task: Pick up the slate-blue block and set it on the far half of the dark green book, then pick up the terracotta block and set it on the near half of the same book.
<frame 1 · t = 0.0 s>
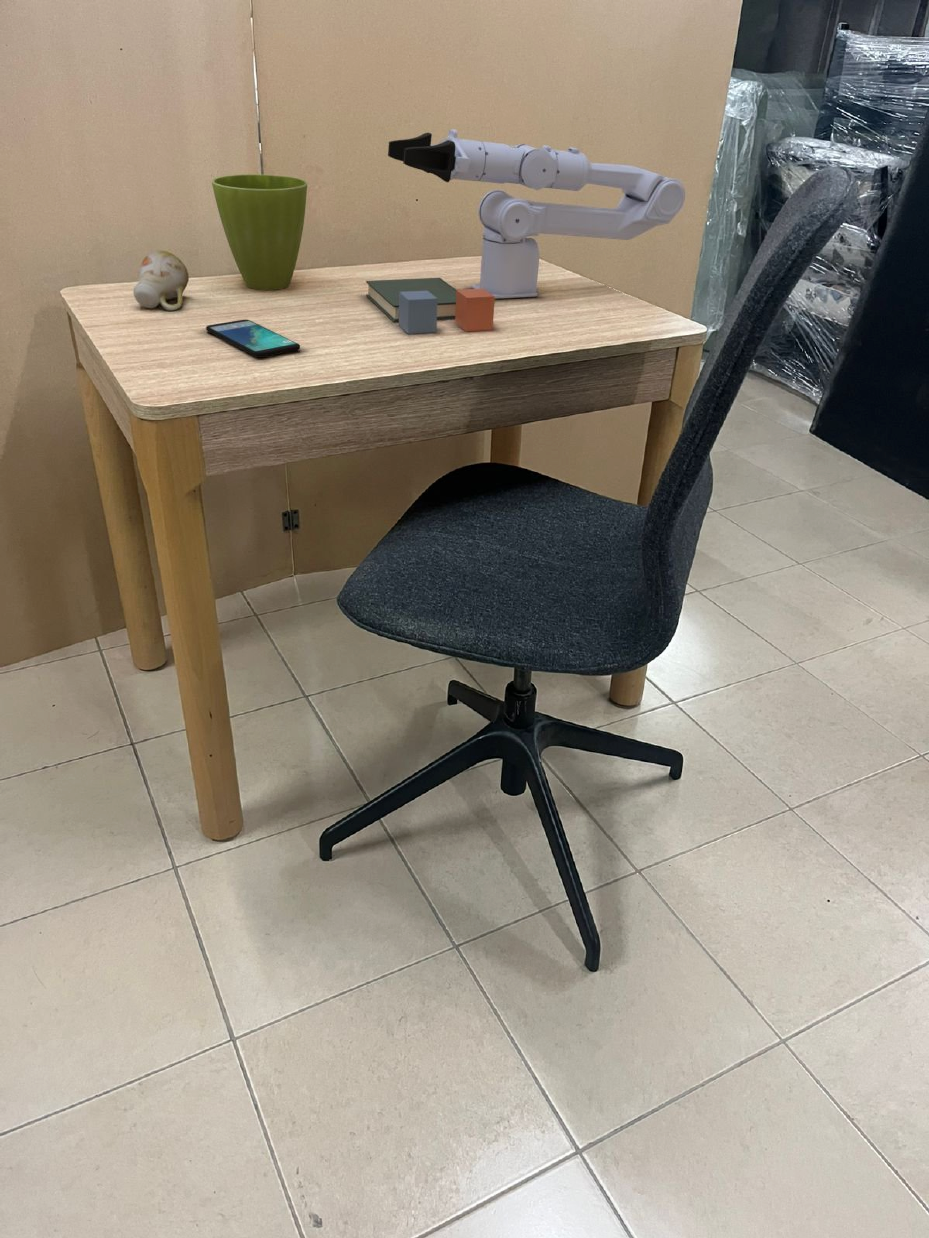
hand: (396, 152, 138), 22 cm above the table, tool horizontal, fingers open, 7 cm apart
terracotta block: (473, 326, 139), on the table
book: (417, 306, 147), on the table
slate block: (417, 329, 137), on the table
flower pot: (267, 286, 153), on the table
mug: (162, 304, 141), on the table
smartphone: (252, 341, 128), on the table
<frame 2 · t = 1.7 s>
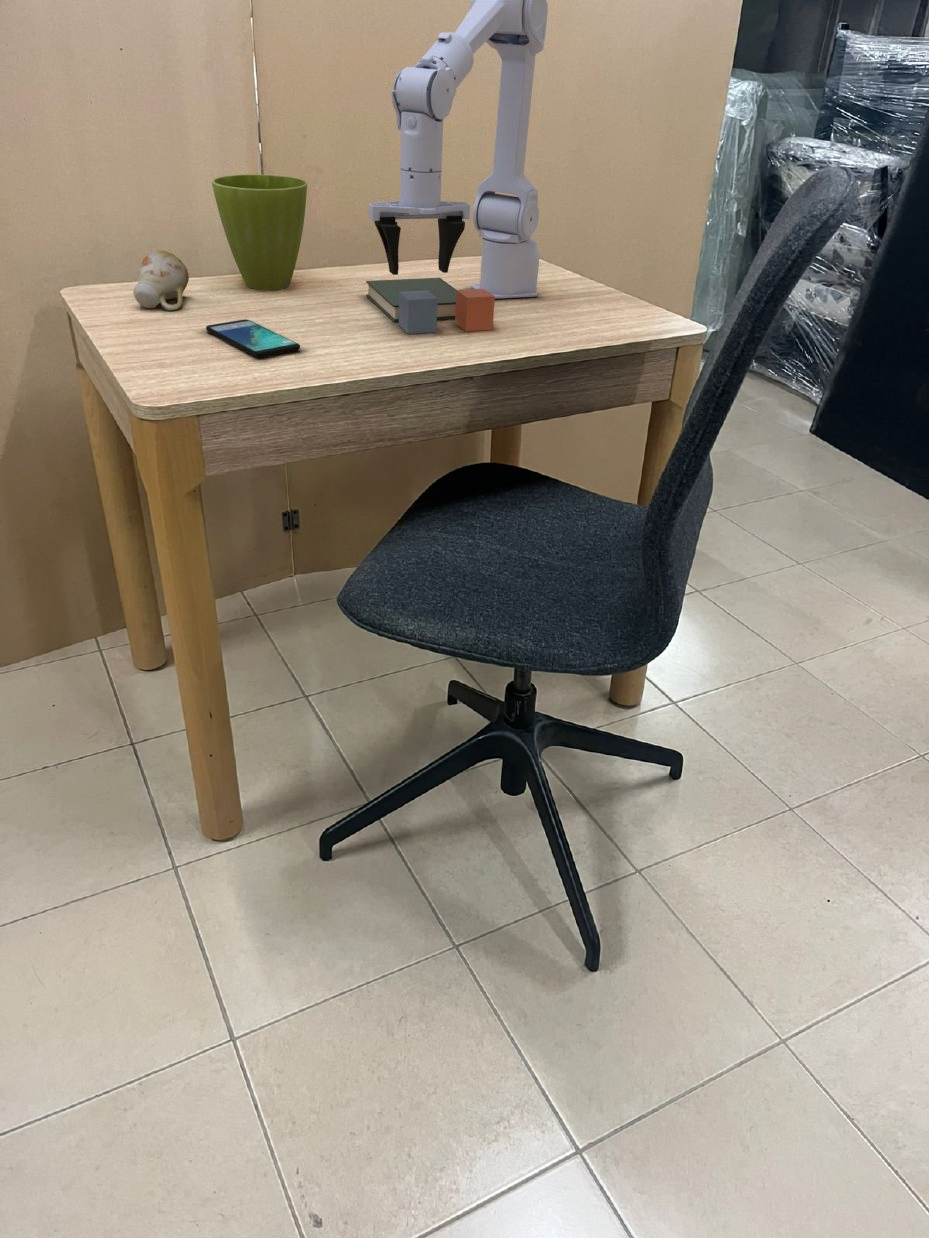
hand: (418, 272, 132), 8 cm above the table, tool pointing down, fingers open, 7 cm apart
nothing on the table moved.
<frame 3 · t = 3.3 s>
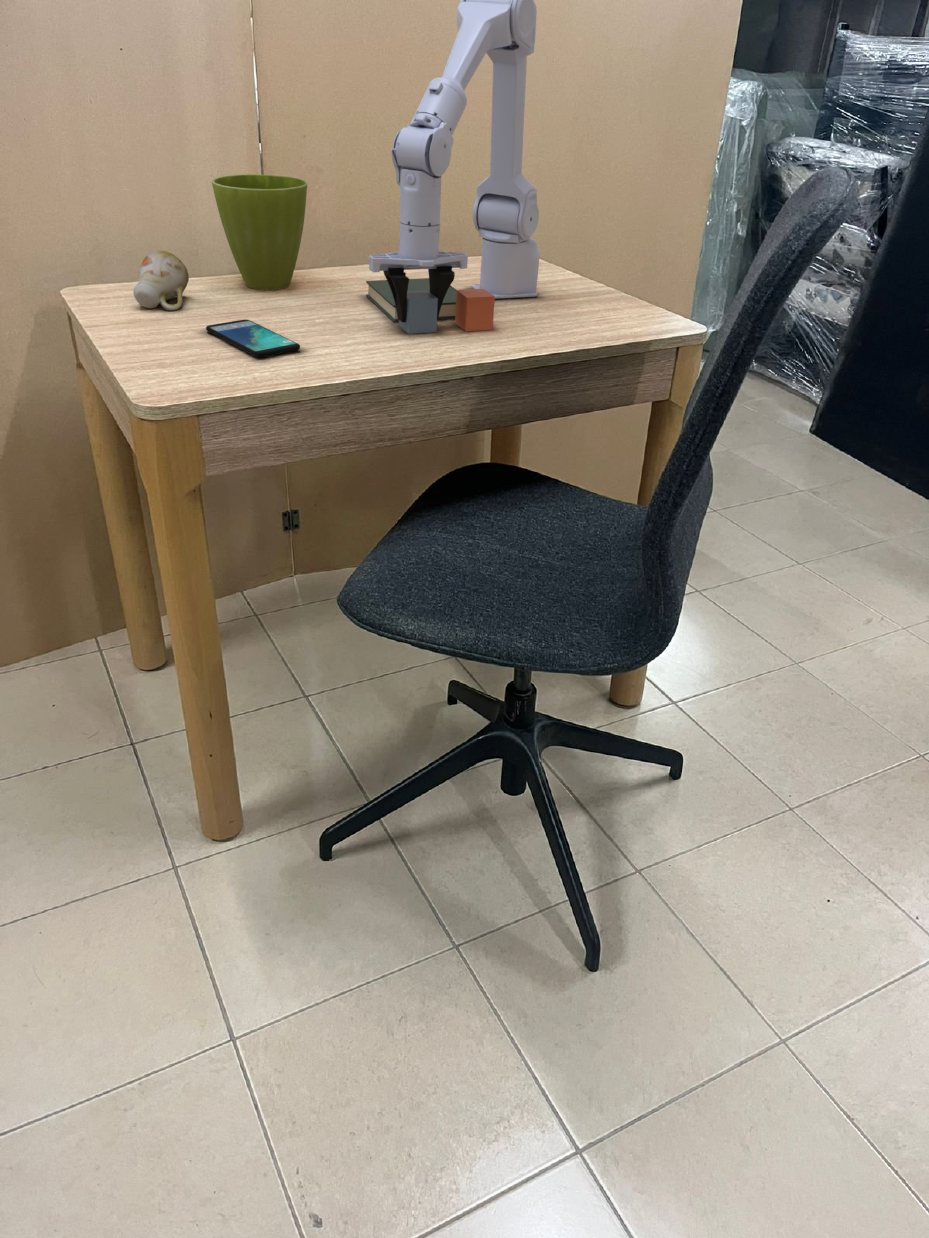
hand: (417, 319, 136), 1 cm above the table, tool pointing down, fingers closed on slate block, 4 cm apart
slate block: (417, 329, 137), on the table, touching gripper
everything else where it was.
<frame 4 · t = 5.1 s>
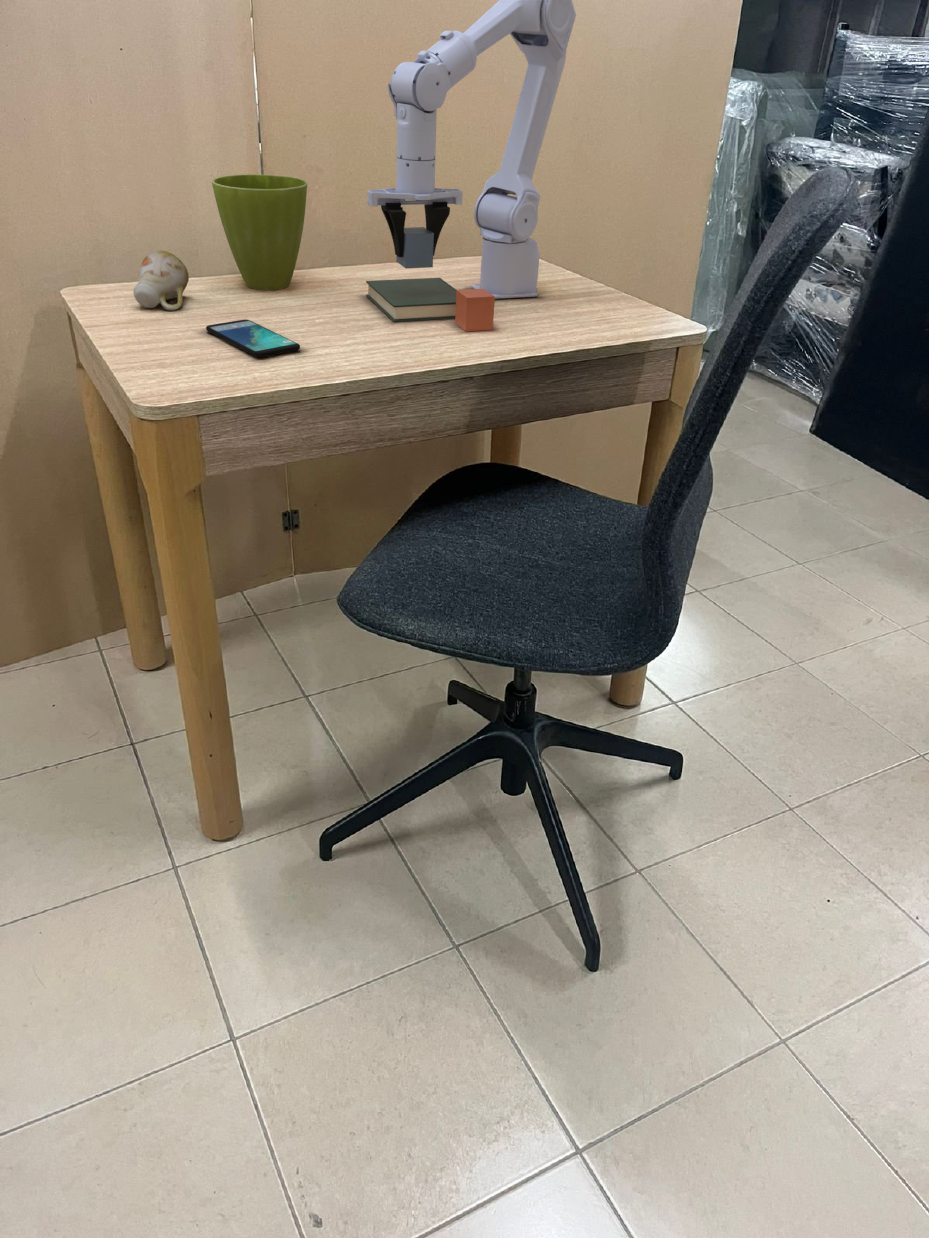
hand: (414, 255, 141), 8 cm above the table, tool pointing down, fingers closed on slate block, 4 cm apart
slate block: (414, 264, 141), point 7 cm above the table, touching gripper
everything else where it was.
when the fingers open (4 cm above the table, at t = 7.4 s): slate block stays where it is, resting on book.
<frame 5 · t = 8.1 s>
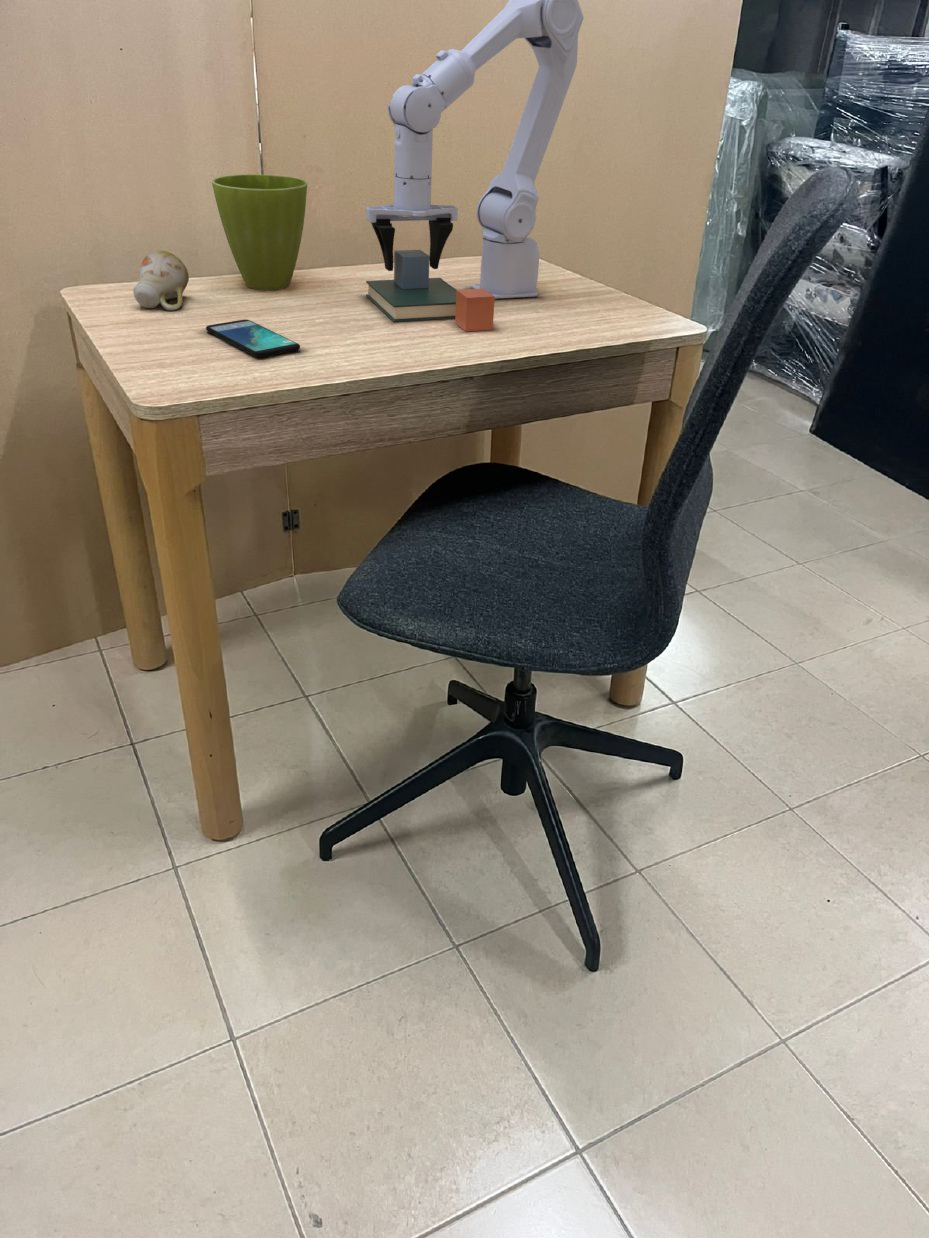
hand: (411, 268, 147), 5 cm above the table, tool pointing down, fingers open, 7 cm apart
slate block: (411, 285, 148), point 2 cm above the table, touching book
everything else where it was.
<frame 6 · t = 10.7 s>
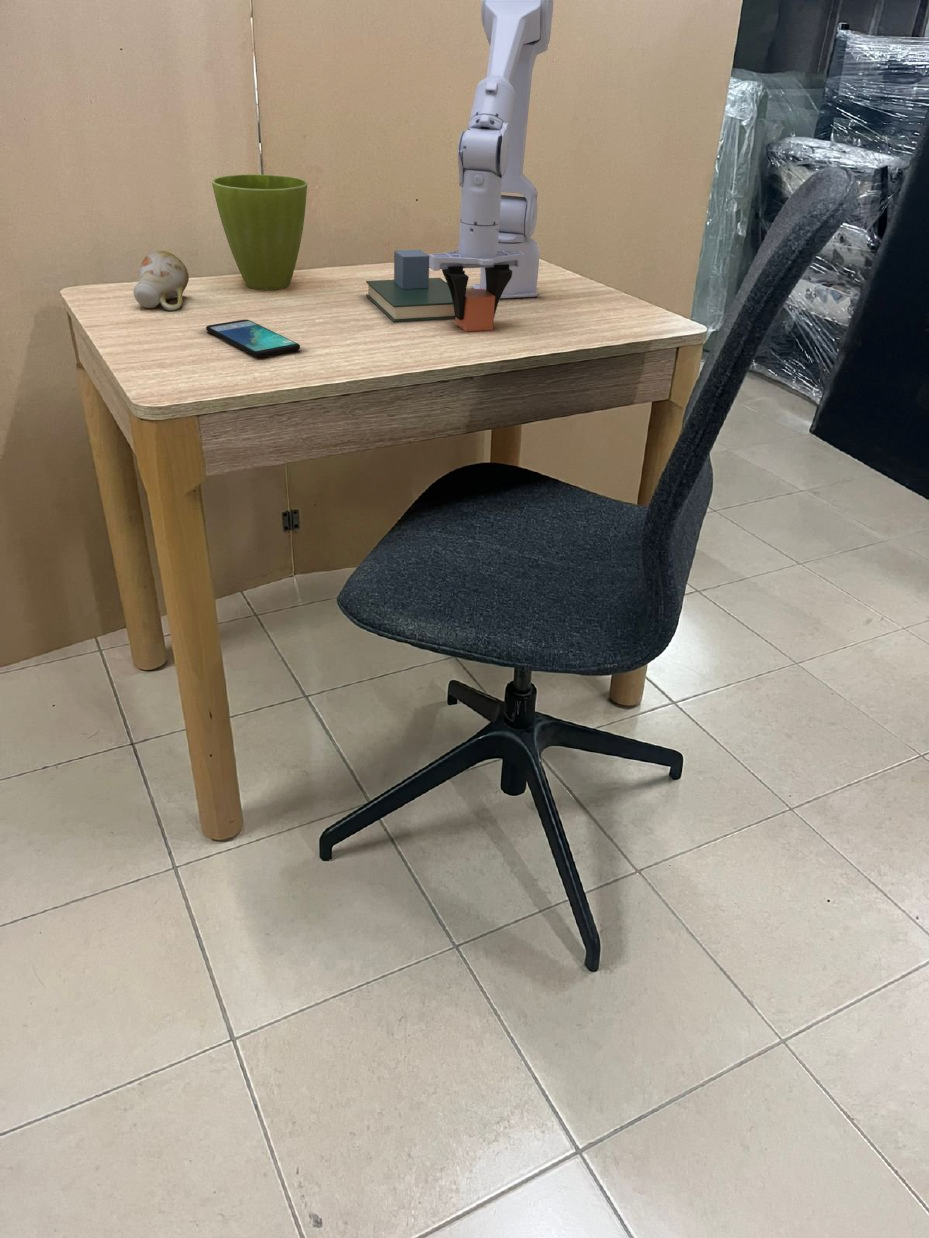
hand: (474, 317, 139), 1 cm above the table, tool pointing down, fingers closed on terracotta block, 4 cm apart
terracotta block: (473, 326, 139), on the table, touching gripper
everything else where it was.
when the fingers open (4 cm above the table, at t = 14.5 s): terracotta block stays where it is, resting on book.
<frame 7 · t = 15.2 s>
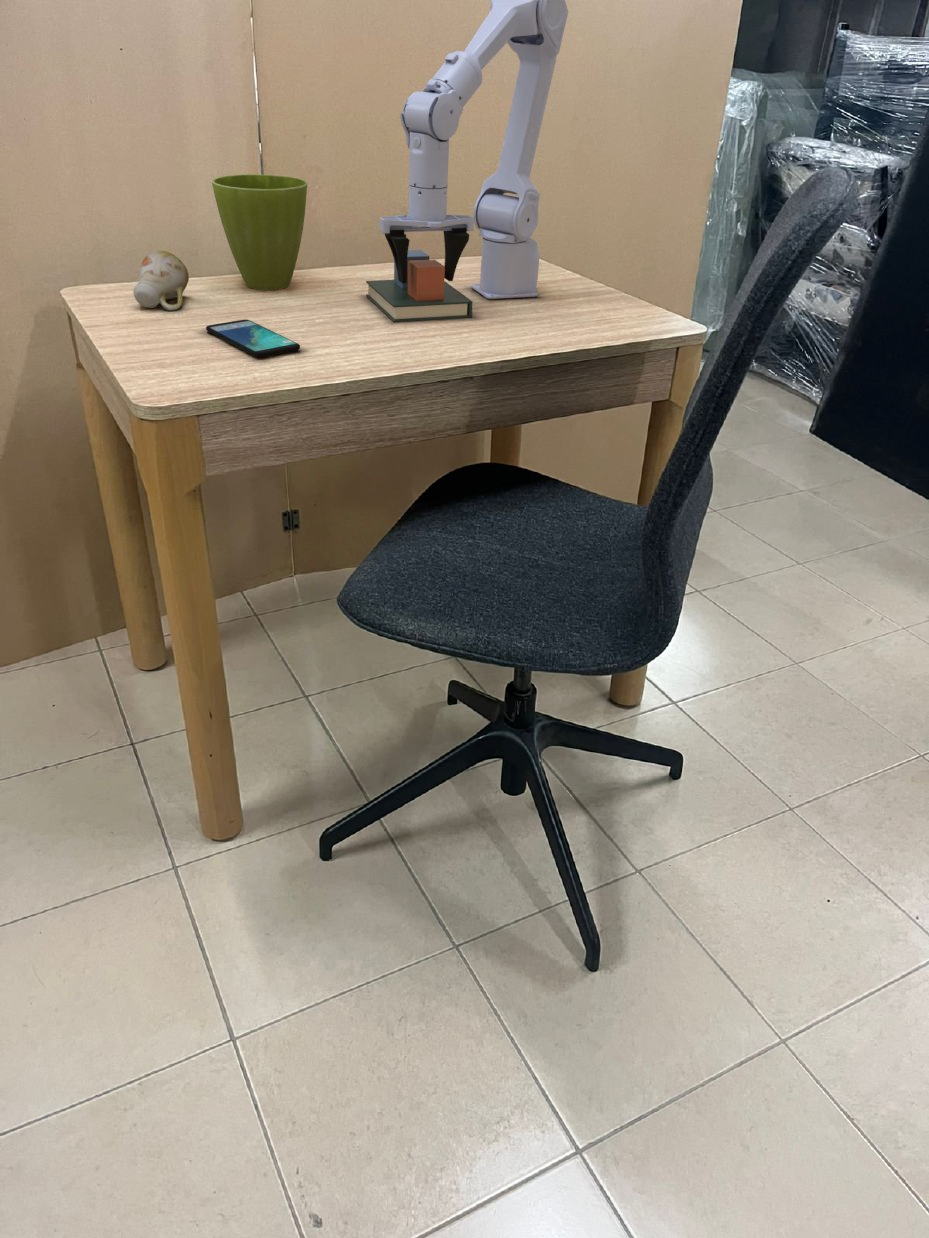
hand: (425, 280, 141), 5 cm above the table, tool pointing down, fingers open, 7 cm apart
terracotta block: (425, 296, 143), point 2 cm above the table, touching book
everything else where it was.
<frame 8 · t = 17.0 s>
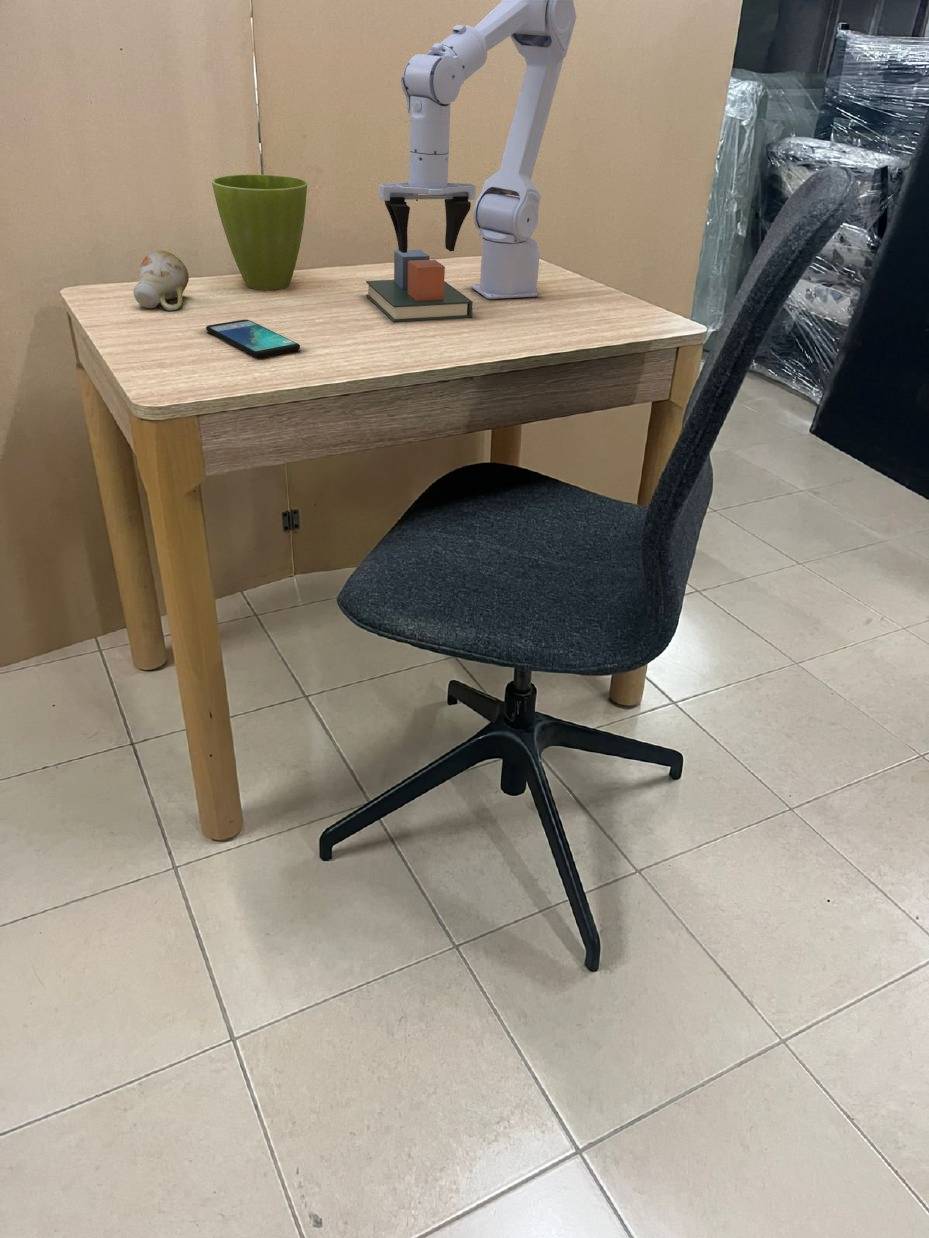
hand: (426, 250, 139), 9 cm above the table, tool pointing down, fingers open, 7 cm apart
nothing on the table moved.
at the end: slate block inside the target area on the book (3.5 cm from its centre), point 2.5 cm above the book's base; terracotta block inside the target area on the book (3.5 cm from its centre), point 2.5 cm above the book's base; terracotta block tilted 0° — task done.
